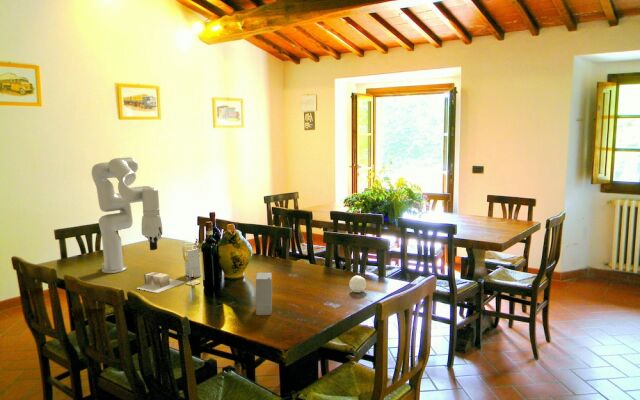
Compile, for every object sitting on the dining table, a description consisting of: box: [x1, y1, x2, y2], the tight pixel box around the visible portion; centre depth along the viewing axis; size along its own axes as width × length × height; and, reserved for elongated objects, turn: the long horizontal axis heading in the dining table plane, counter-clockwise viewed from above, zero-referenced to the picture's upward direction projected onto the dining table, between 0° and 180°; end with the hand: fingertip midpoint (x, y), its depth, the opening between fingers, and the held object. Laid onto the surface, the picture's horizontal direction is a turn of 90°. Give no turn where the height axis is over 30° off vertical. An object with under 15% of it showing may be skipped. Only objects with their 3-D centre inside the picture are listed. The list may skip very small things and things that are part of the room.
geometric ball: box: [348, 275, 367, 294], centre depth 218 cm, size 8×8×8 cm
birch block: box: [143, 271, 171, 287], centre depth 235 cm, size 5×5×12 cm
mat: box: [135, 278, 186, 294], centre depth 234 cm, size 15×18×1 cm
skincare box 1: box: [183, 247, 202, 278], centre depth 248 cm, size 8×6×15 cm
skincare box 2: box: [255, 272, 273, 316], centre depth 196 cm, size 8×7×16 cm
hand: (153, 249), depth 234 cm, fingers closed
